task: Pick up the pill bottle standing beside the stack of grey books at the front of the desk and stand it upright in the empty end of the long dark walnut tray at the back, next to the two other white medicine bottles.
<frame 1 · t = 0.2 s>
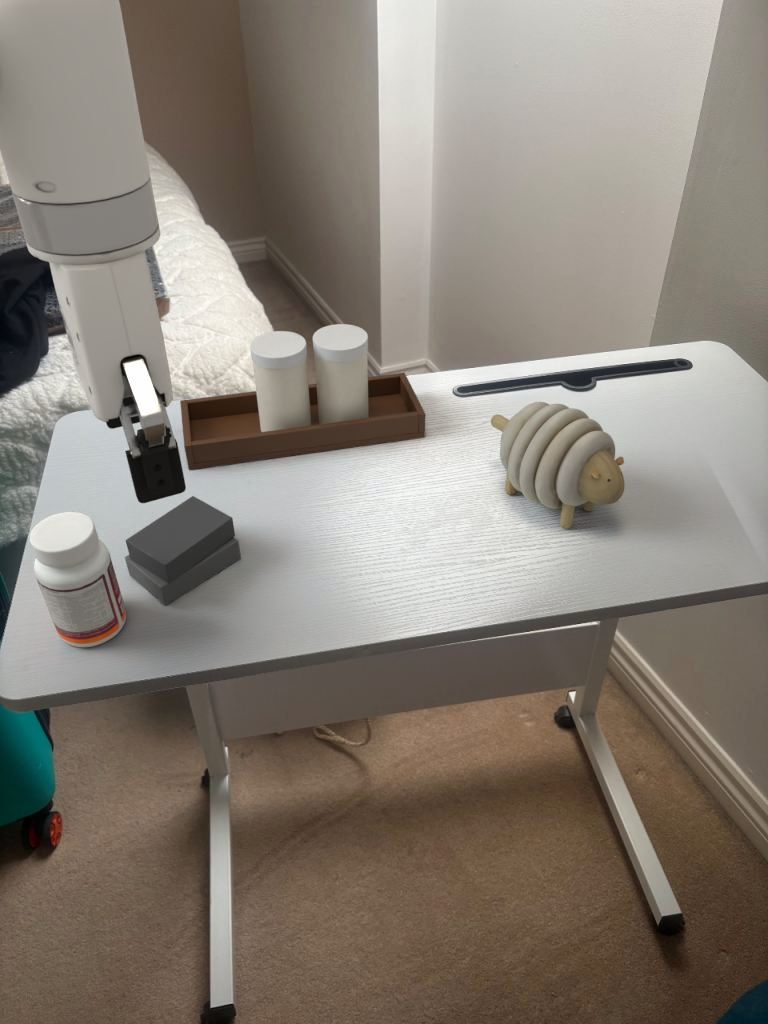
hand: (144, 457, 59), 22 cm above the table, tool pointing down, fingers open, 9 cm apart
white bottle B: (343, 419, 100), point 1 cm above the table, touching tray
pill bottle: (93, 626, 76), on the table
white bottle A: (286, 427, 99), point 1 cm above the table, touching tray
tray: (303, 430, 100), on the table
grey books: (185, 566, 81), on the table
toy sheep: (548, 499, 89), on the table
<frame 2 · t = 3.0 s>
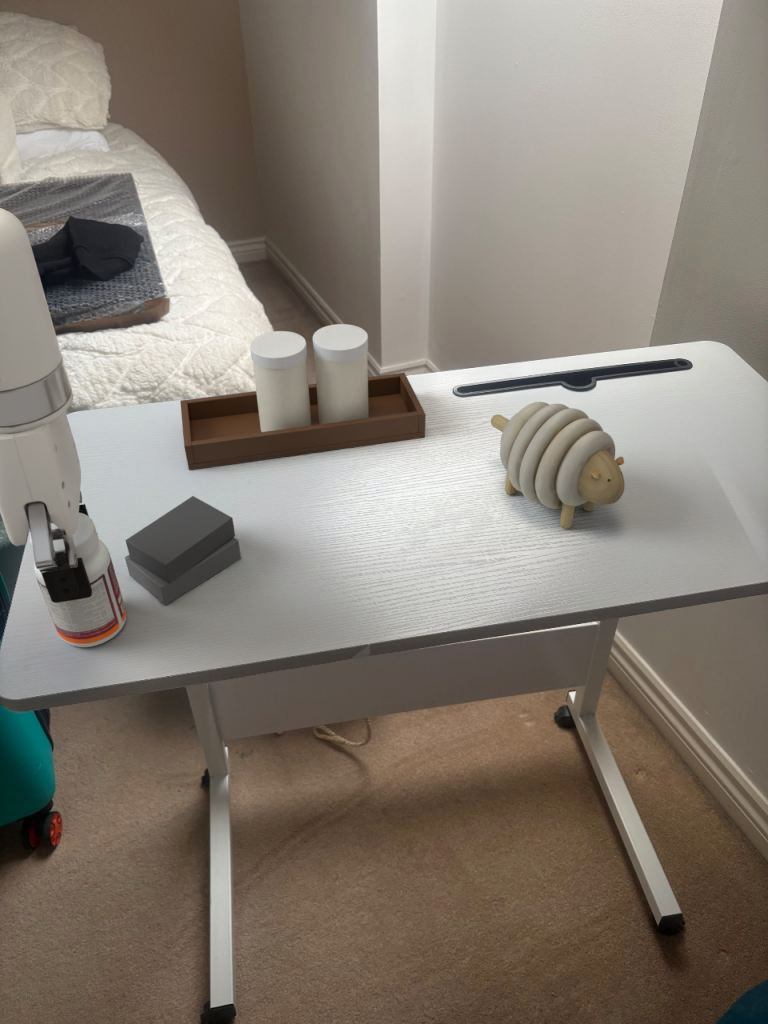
hand: (74, 568, 71), 7 cm above the table, tool pointing down, fingers closed on pill bottle, 6 cm apart
pill bottle: (93, 626, 76), on the table, touching gripper
everything else where it was.
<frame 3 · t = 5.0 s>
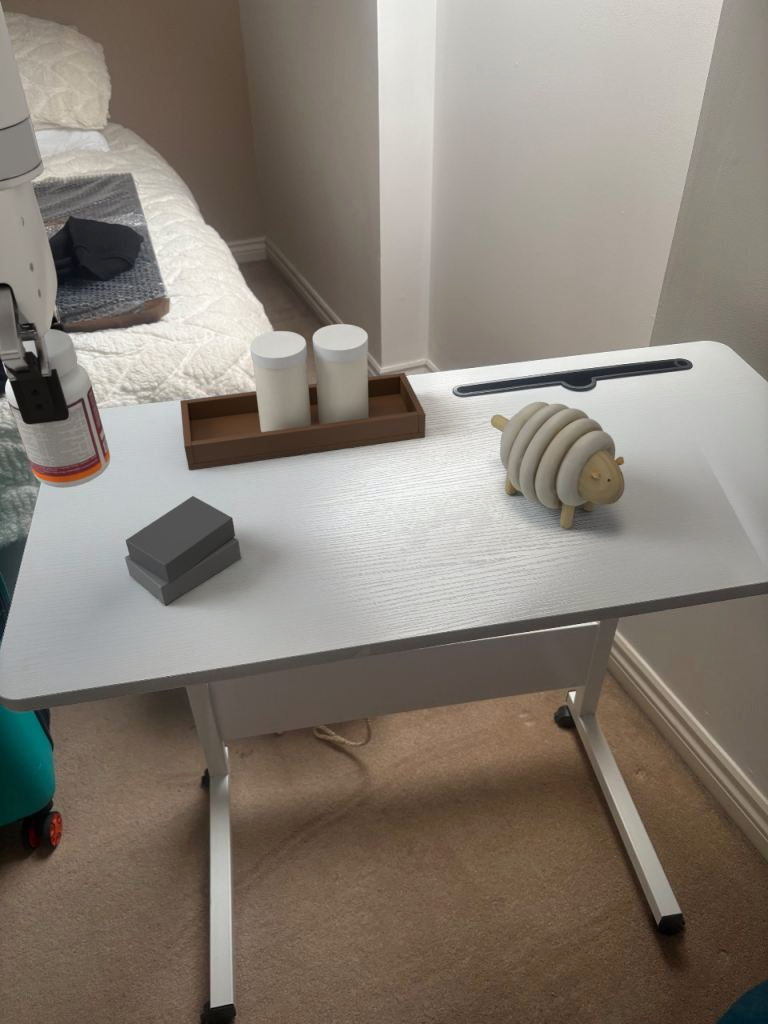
hand: (50, 394, 64), 22 cm above the table, tool pointing down, fingers closed on pill bottle, 6 cm apart
pill bottle: (73, 469, 68), point 15 cm above the table, touching gripper
everything else where it was.
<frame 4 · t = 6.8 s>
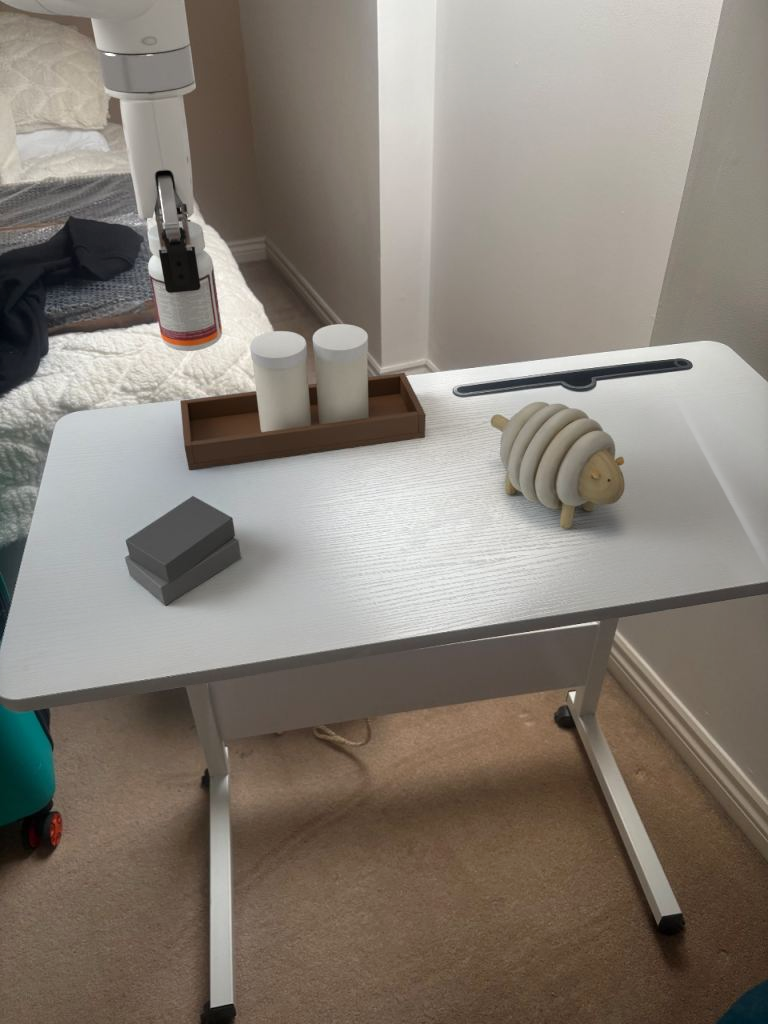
hand: (181, 273, 81), 22 cm above the table, tool pointing down, fingers closed on pill bottle, 6 cm apart
pill bottle: (193, 340, 85), point 15 cm above the table, touching gripper
everything else where it was.
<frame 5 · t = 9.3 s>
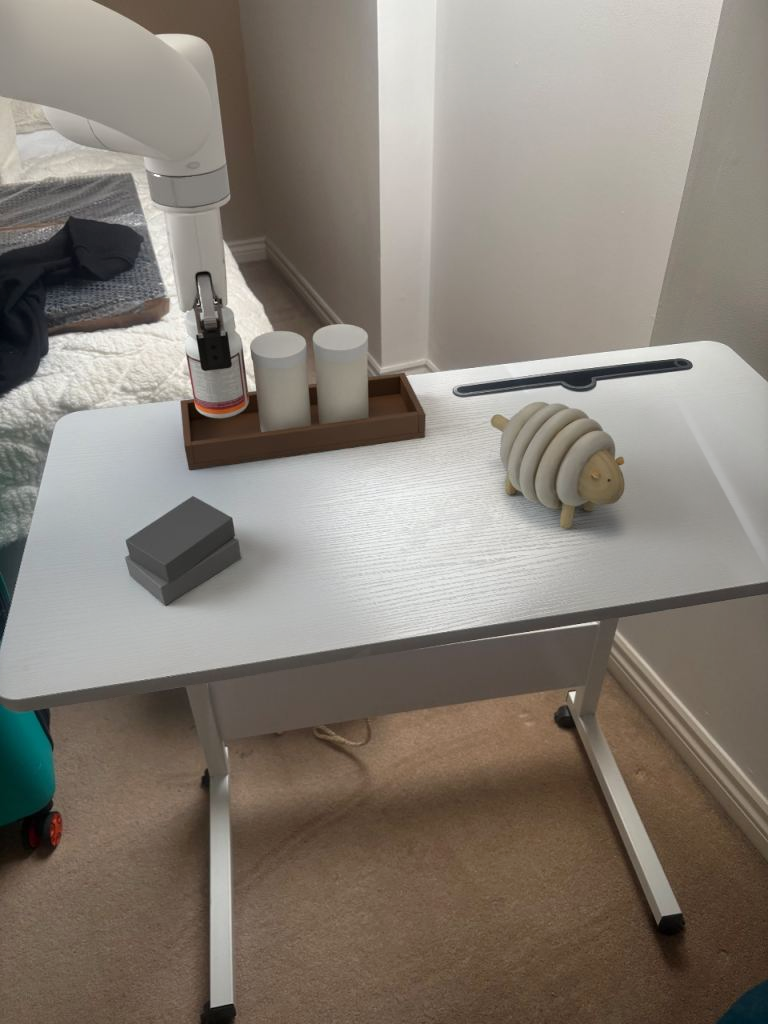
hand: (214, 351, 90), 12 cm above the table, tool pointing down, fingers closed on pill bottle, 6 cm apart
pill bottle: (222, 407, 95), point 5 cm above the table, touching gripper
everything else where it was.
when the fingers open (8 cm above the table, at t = 10.9 s): pill bottle stays where it is, resting on tray.
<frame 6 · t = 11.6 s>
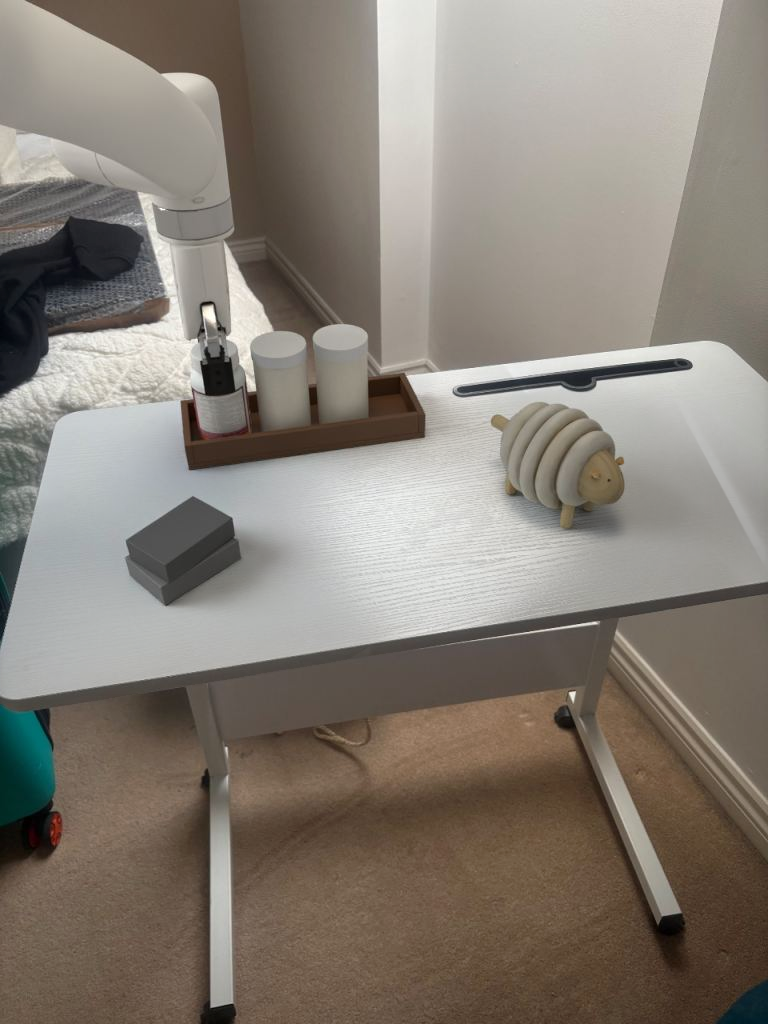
hand: (216, 370, 92), 9 cm above the table, tool pointing down, fingers open, 9 cm apart
pill bottle: (226, 436, 98), point 1 cm above the table, touching tray
everything else where it was.
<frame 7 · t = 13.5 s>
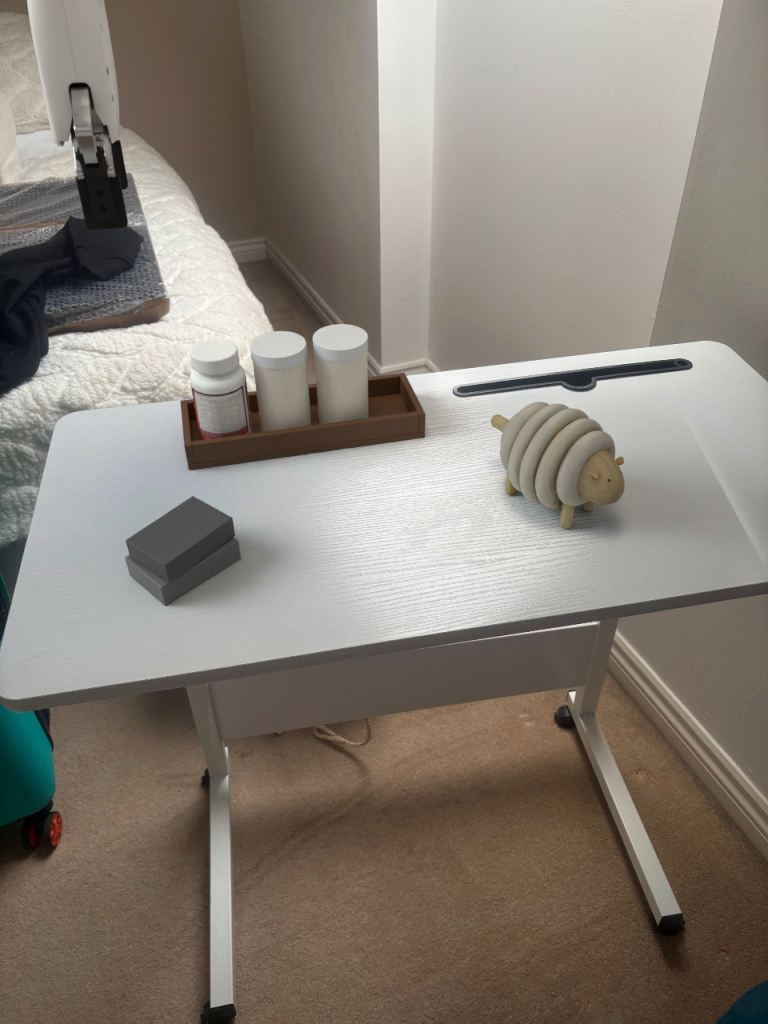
hand: (109, 207, 70), 31 cm above the table, tool pointing down, fingers open, 9 cm apart
nothing on the table moved.
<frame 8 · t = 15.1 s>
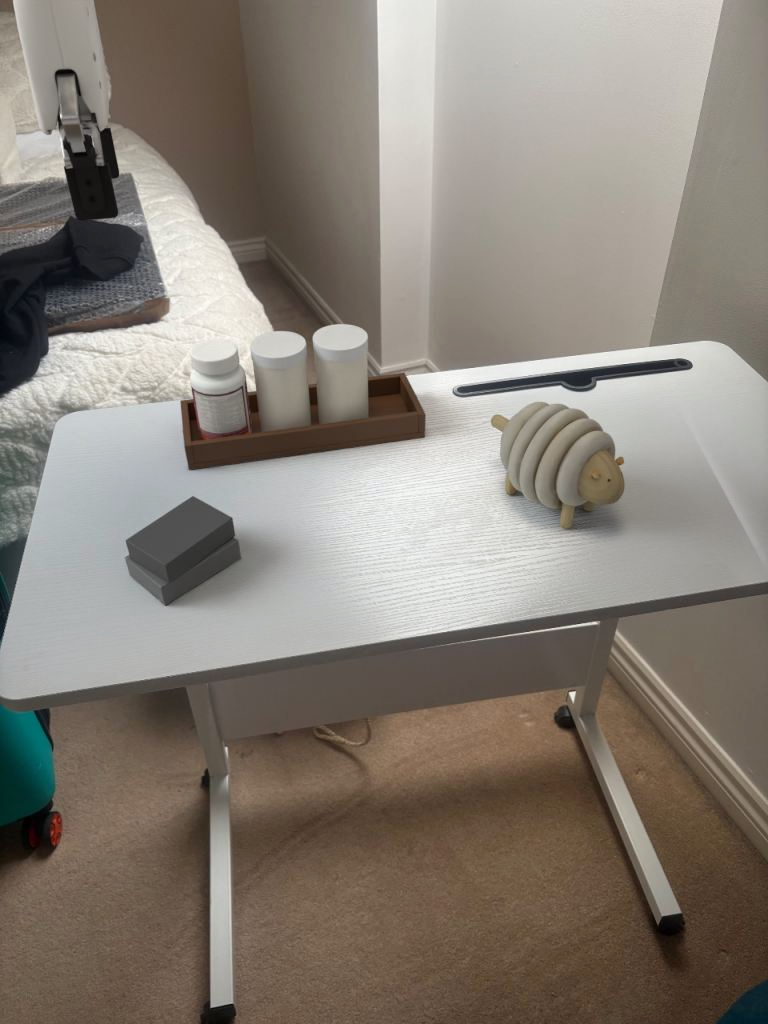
hand: (99, 197, 69), 32 cm above the table, tool pointing down, fingers open, 9 cm apart
nothing on the table moved.
at the end: pill bottle 0.1 cm from the target spot in the tray, point 0.6 cm above the tray's base; pill bottle tilted 0°; the gripper is holding nothing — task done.
